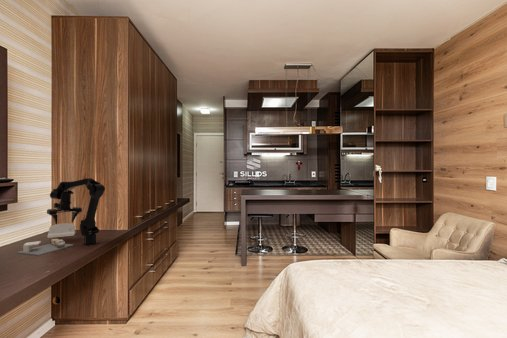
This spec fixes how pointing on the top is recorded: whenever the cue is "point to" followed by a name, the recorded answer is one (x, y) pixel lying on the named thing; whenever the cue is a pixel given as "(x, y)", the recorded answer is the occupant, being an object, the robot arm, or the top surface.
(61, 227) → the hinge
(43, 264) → the top surface
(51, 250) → the pintle base
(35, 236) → the top surface
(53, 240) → the link
